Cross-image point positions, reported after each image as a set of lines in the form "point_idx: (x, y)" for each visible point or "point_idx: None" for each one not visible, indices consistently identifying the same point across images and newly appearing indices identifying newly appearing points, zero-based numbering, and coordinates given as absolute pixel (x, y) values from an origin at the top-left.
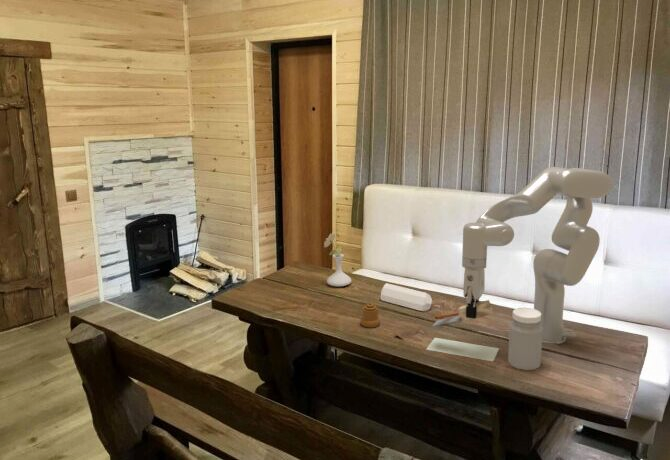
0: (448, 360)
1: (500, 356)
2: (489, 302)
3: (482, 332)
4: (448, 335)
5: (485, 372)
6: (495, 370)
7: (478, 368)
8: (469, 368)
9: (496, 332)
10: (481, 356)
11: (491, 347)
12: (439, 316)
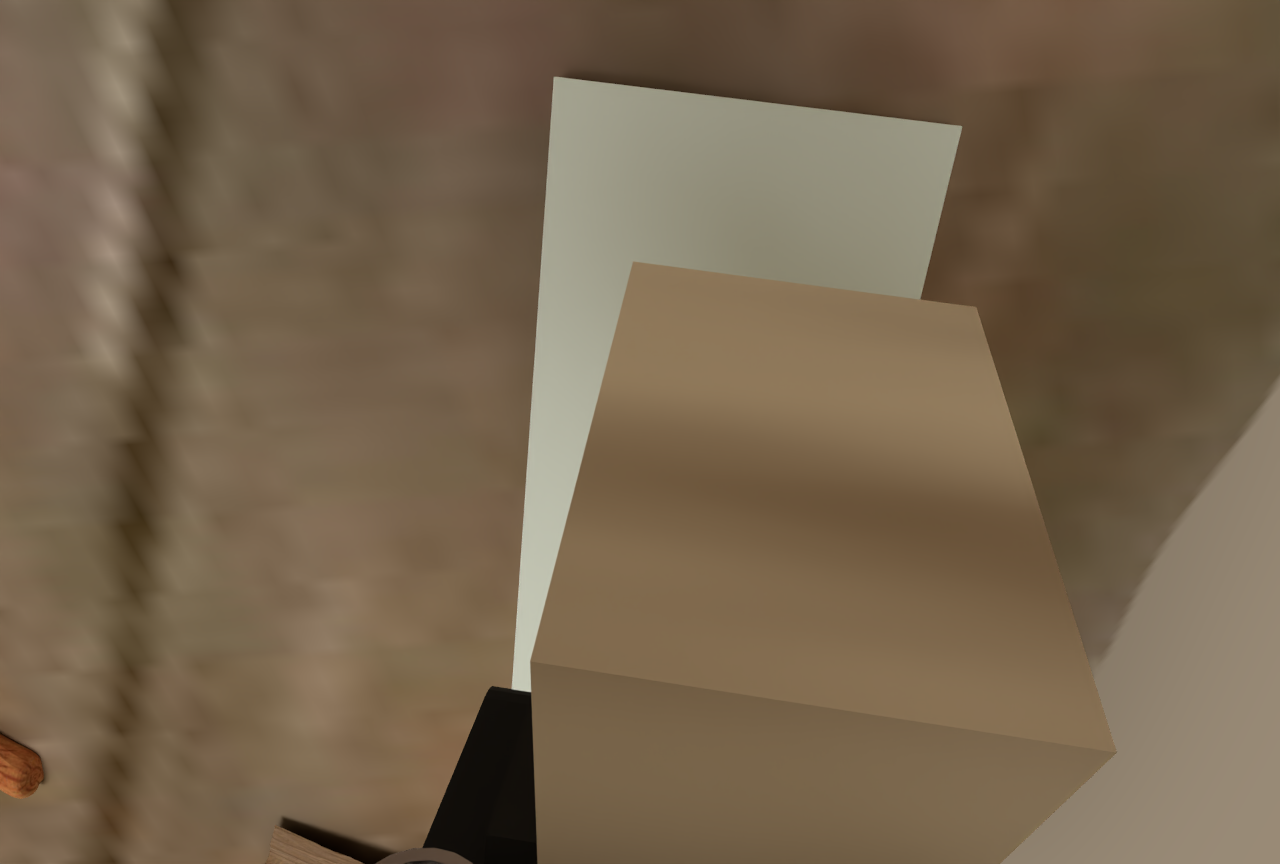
0: None
1: (702, 47)
2: (605, 553)
3: (124, 321)
4: (358, 643)
5: (1179, 200)
6: (1113, 80)
7: (1081, 289)
8: (1092, 385)
9: (39, 156)
10: (842, 283)
11: (554, 181)
12: (3, 762)
